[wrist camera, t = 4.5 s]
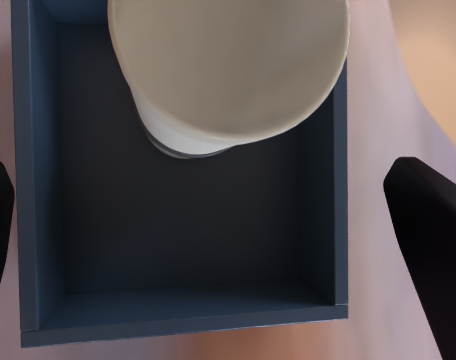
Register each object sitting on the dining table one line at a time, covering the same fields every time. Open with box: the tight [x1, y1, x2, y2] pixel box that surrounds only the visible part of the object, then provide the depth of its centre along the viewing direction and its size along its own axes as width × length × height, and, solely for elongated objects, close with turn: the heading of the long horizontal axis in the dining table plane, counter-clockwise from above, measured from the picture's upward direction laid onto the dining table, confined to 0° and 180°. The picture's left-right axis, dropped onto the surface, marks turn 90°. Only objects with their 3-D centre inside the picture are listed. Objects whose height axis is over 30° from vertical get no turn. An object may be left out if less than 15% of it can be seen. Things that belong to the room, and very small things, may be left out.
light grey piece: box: [107, 0, 350, 159], centre depth 12 cm, size 4×4×12 cm
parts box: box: [10, 0, 348, 348], centre depth 17 cm, size 13×12×5 cm
